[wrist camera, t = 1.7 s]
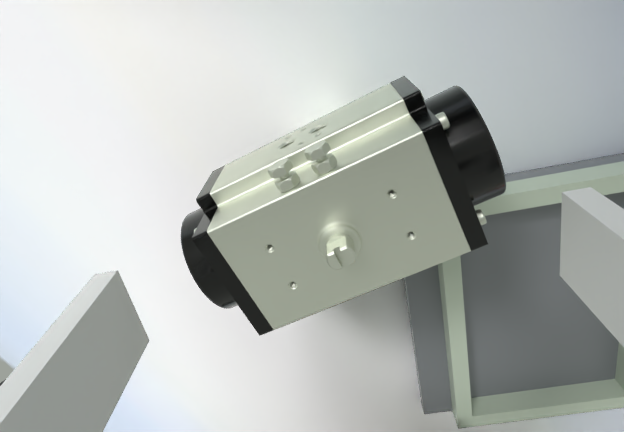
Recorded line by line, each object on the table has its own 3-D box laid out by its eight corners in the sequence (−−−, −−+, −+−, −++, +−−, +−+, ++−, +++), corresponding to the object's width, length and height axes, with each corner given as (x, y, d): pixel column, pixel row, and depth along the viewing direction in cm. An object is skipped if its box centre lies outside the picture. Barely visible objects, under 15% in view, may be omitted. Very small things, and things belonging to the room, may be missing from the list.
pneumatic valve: (447, 136, 25) (547, 245, 14) (260, 222, 27) (221, 371, 16) (409, 39, 22) (492, 78, 12) (210, 141, 25) (128, 252, 14)
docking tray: (392, 195, 26) (398, 213, 24) (686, 141, 25) (722, 156, 22) (421, 403, 33) (428, 432, 31) (650, 372, 32) (675, 400, 30)
